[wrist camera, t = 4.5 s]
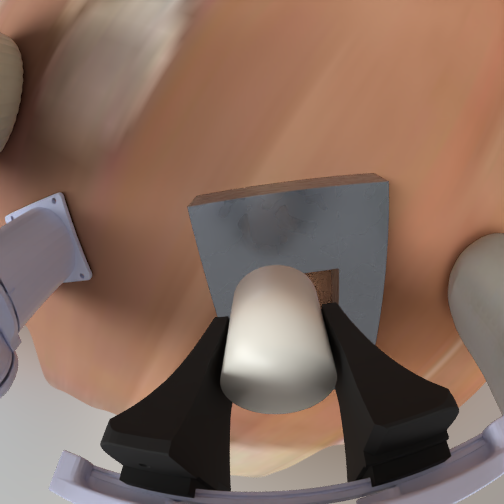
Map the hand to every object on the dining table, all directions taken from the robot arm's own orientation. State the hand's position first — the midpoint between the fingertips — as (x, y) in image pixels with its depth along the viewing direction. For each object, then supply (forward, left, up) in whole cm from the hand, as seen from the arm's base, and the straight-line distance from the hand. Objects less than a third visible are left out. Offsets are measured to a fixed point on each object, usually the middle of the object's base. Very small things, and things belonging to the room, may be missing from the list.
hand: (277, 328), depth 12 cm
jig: (+2, -4, -9) cm, 9 cm away
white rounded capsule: (0, 0, -2) cm, 2 cm away
